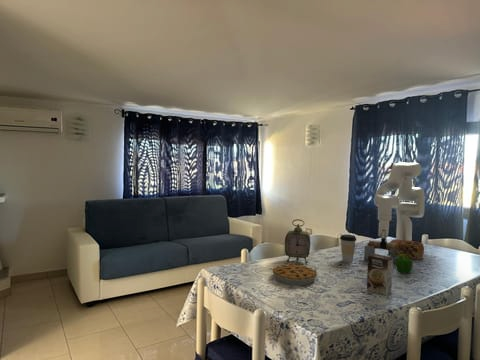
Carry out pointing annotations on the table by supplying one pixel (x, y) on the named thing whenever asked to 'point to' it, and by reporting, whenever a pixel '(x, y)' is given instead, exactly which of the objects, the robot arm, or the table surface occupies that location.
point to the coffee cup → (347, 247)
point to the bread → (409, 249)
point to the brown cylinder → (388, 245)
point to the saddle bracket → (393, 255)
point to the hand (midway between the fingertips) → (383, 247)
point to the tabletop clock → (297, 243)
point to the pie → (294, 274)
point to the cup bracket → (368, 251)
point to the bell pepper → (404, 264)
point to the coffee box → (379, 274)
